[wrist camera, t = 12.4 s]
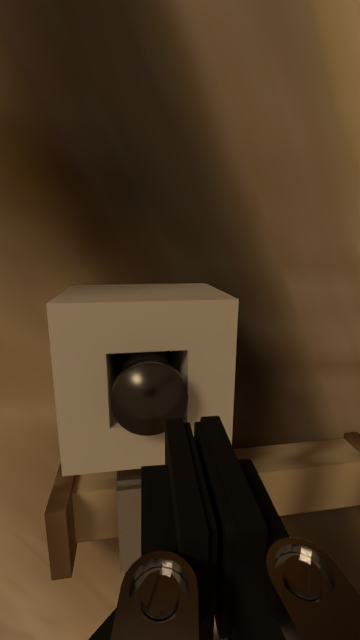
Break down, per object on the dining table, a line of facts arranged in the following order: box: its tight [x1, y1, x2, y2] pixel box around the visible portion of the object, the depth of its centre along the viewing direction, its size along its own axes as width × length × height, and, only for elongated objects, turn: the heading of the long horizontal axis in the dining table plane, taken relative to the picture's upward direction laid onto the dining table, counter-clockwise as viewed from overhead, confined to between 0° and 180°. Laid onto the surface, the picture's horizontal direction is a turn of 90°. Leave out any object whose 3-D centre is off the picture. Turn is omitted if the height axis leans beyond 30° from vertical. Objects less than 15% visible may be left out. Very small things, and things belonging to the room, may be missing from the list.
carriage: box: [116, 468, 141, 573], centre depth 19 cm, size 6×7×11 cm
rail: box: [44, 432, 360, 580], centre depth 24 cm, size 24×5×5 cm, turn 90°
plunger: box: [111, 351, 188, 436], centre depth 18 cm, size 4×4×7 cm
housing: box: [46, 283, 239, 476], centre depth 19 cm, size 9×9×7 cm
